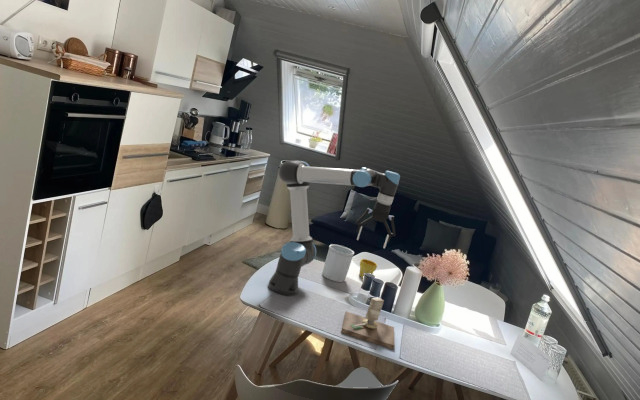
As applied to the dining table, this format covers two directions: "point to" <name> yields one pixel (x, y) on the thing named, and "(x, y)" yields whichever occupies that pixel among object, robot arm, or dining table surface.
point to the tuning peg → (372, 313)
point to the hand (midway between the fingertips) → (370, 243)
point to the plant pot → (367, 267)
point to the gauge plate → (368, 331)
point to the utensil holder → (337, 263)
